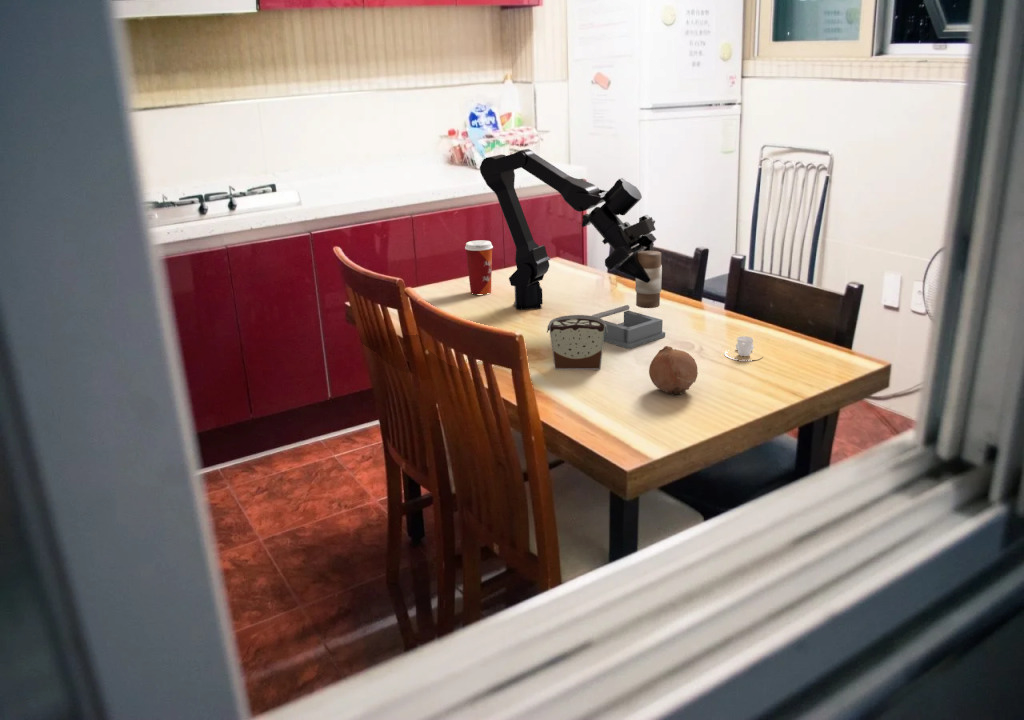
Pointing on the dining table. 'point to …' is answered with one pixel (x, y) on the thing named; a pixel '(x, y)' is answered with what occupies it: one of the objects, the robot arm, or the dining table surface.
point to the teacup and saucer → (743, 347)
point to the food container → (577, 341)
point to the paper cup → (479, 266)
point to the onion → (673, 370)
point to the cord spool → (650, 291)
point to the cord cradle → (631, 328)
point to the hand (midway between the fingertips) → (654, 278)
